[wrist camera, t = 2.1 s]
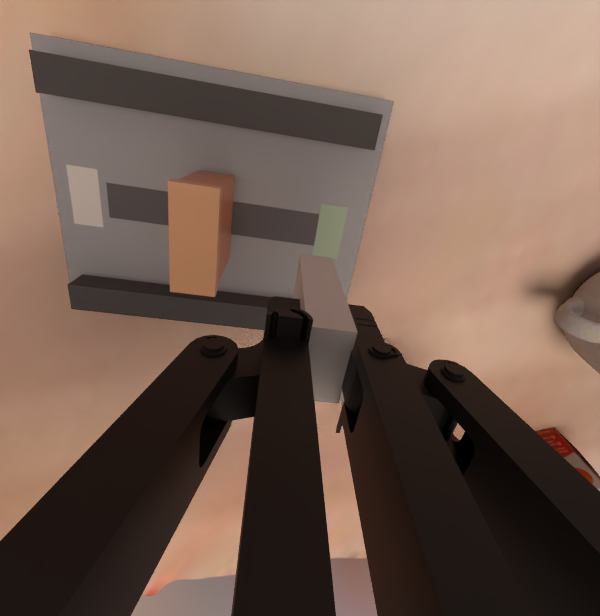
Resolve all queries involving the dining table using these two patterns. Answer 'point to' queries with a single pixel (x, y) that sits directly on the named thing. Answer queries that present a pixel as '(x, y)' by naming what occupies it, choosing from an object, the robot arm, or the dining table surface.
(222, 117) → the set of dark strips
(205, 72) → the panel
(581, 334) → the teacup
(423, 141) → the dining table surface
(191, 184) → the orange rectangular block
